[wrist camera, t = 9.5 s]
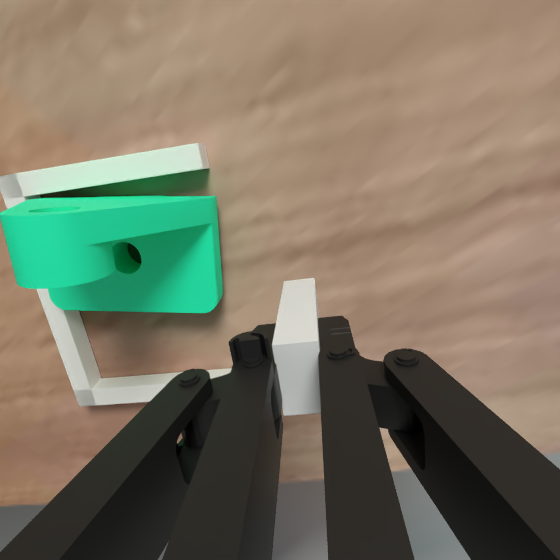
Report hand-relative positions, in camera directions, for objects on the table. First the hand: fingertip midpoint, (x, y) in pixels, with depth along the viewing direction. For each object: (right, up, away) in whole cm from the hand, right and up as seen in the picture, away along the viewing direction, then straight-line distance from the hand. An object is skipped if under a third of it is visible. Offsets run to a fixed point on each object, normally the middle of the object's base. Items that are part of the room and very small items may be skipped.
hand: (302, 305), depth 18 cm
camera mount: (-11, +4, +8) cm, 14 cm away
